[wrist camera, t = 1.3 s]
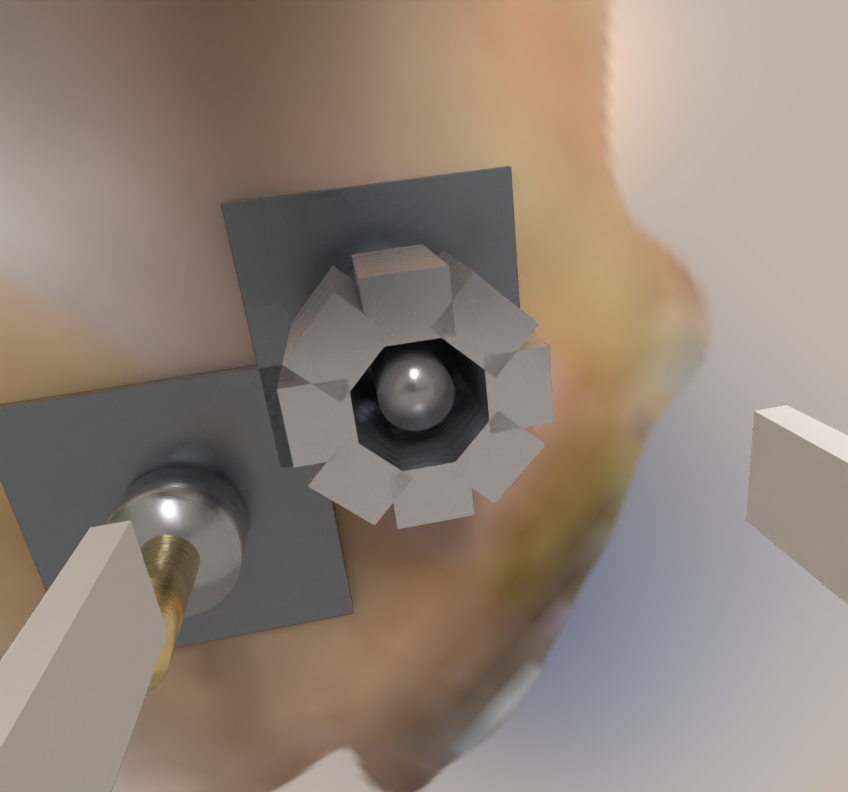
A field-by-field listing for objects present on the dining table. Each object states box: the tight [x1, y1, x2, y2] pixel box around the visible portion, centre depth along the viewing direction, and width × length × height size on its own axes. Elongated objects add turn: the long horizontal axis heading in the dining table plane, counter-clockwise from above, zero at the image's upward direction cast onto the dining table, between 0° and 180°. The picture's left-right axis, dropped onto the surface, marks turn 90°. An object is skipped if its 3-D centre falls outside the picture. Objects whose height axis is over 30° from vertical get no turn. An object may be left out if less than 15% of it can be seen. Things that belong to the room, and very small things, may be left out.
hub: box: [0, 365, 353, 691], centre depth 26 cm, size 14×14×10 cm
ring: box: [277, 244, 553, 529], centre depth 21 cm, size 8×8×5 cm
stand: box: [221, 166, 520, 468], centre depth 24 cm, size 12×12×10 cm
